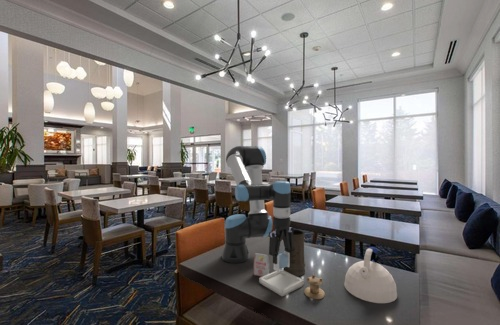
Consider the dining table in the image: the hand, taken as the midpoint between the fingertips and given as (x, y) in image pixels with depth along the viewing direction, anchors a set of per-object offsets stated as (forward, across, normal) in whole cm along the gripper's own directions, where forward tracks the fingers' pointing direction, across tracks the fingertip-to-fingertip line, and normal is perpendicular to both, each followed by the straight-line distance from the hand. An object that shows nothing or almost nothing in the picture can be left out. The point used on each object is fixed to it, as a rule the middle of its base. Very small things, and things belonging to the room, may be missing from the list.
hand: (281, 268), depth 108 cm
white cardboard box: (+7, -1, +12) cm, 14 cm away
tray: (+7, 0, 0) cm, 7 cm away
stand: (+7, +5, -14) cm, 16 cm away
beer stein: (+7, +16, +6) cm, 19 cm away
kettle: (+8, +26, -27) cm, 38 cm away
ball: (0, 0, 0) cm, 0 cm away
